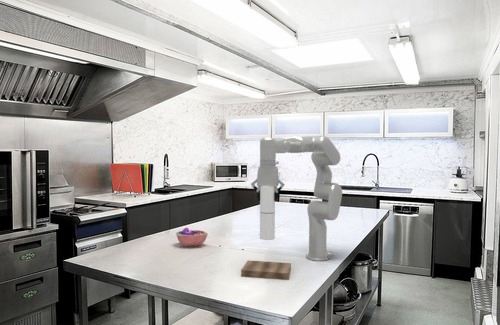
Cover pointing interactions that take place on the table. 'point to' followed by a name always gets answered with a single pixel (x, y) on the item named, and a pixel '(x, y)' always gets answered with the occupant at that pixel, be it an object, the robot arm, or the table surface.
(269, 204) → the cylindrical container
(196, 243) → the cell model
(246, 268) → the walnut base board
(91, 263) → the table surface
